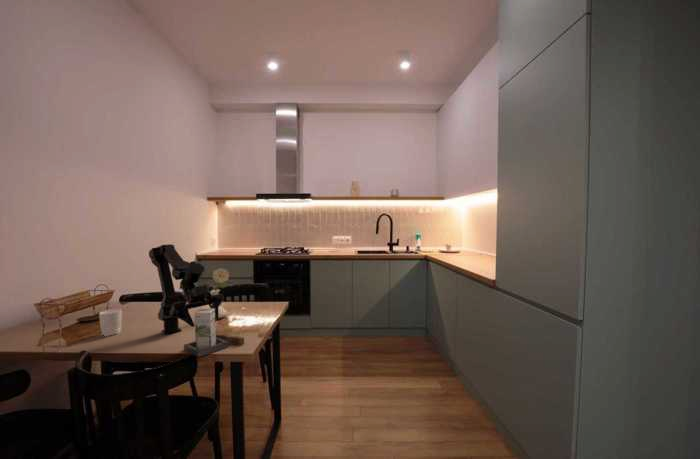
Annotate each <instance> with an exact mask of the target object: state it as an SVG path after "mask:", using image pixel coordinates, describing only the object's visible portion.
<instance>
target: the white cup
mask: <svg viewBox="0 0 700 459" xmlns="http://www.w3.org/2000/svg"><path fill="white" fill-rule="evenodd" d="M122 311H123V309H121V308H116V309H115V308H114V309H107V310H104V311H101V312H99V313H98V315H99V324H100V331H101V336H102V335H104V336H105V337H106V335H107V337H109V336H108V335H113V334H117V333H119V334H120V332H121V333H122V323H123V322H122V320H123V317H122V316H123V312H122ZM117 335H118V334H117ZM104 336H103V337H104ZM113 336H114V335H113Z"/></svg>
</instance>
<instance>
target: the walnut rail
mask: <svg viewBox="0 0 700 459" xmlns="http://www.w3.org/2000/svg"><path fill="white" fill-rule="evenodd" d="M216 337H218V338H221V339H223V340H226V341H228V344H233V345H237V346H243V345H245V337H243V336H237V335H231V334H228V333H227V334H226V333H221V332H216Z"/></svg>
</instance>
